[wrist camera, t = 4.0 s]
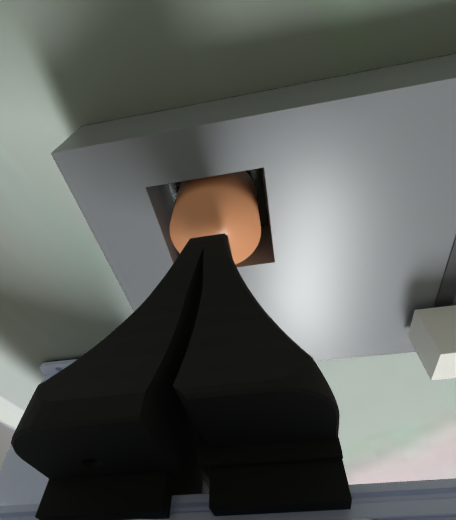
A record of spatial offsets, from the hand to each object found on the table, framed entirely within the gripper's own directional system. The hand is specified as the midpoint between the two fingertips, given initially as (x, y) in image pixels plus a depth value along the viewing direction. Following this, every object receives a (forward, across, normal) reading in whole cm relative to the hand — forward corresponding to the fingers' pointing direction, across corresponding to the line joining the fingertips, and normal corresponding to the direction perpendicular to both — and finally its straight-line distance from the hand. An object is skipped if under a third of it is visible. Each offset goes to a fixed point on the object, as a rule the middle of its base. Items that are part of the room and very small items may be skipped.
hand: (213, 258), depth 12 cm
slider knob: (+2, -10, +7) cm, 12 cm away
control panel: (+5, -5, +3) cm, 8 cm away
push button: (+4, 0, 0) cm, 4 cm away
